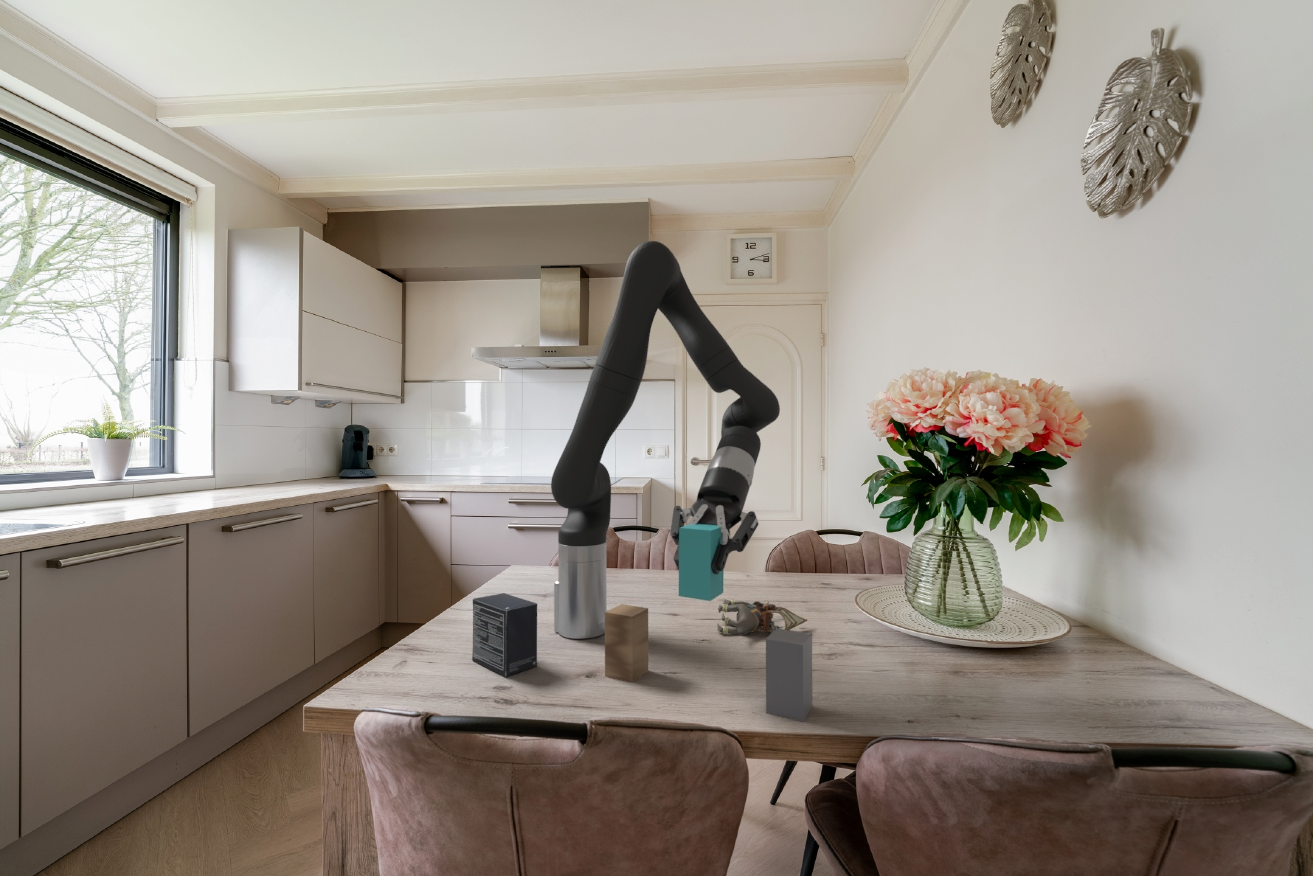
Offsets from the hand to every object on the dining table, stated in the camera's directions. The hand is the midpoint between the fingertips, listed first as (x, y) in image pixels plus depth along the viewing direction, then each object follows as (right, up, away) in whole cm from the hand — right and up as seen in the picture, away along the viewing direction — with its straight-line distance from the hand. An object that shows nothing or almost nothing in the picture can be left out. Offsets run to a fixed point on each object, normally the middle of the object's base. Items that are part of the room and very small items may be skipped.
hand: (696, 568), depth 83 cm
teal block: (+1, -4, +2) cm, 5 cm away
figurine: (+15, -19, +28) cm, 37 cm away
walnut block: (-11, -18, +8) cm, 22 cm away
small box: (-31, -19, +12) cm, 38 cm away
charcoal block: (+12, -18, -5) cm, 23 cm away
